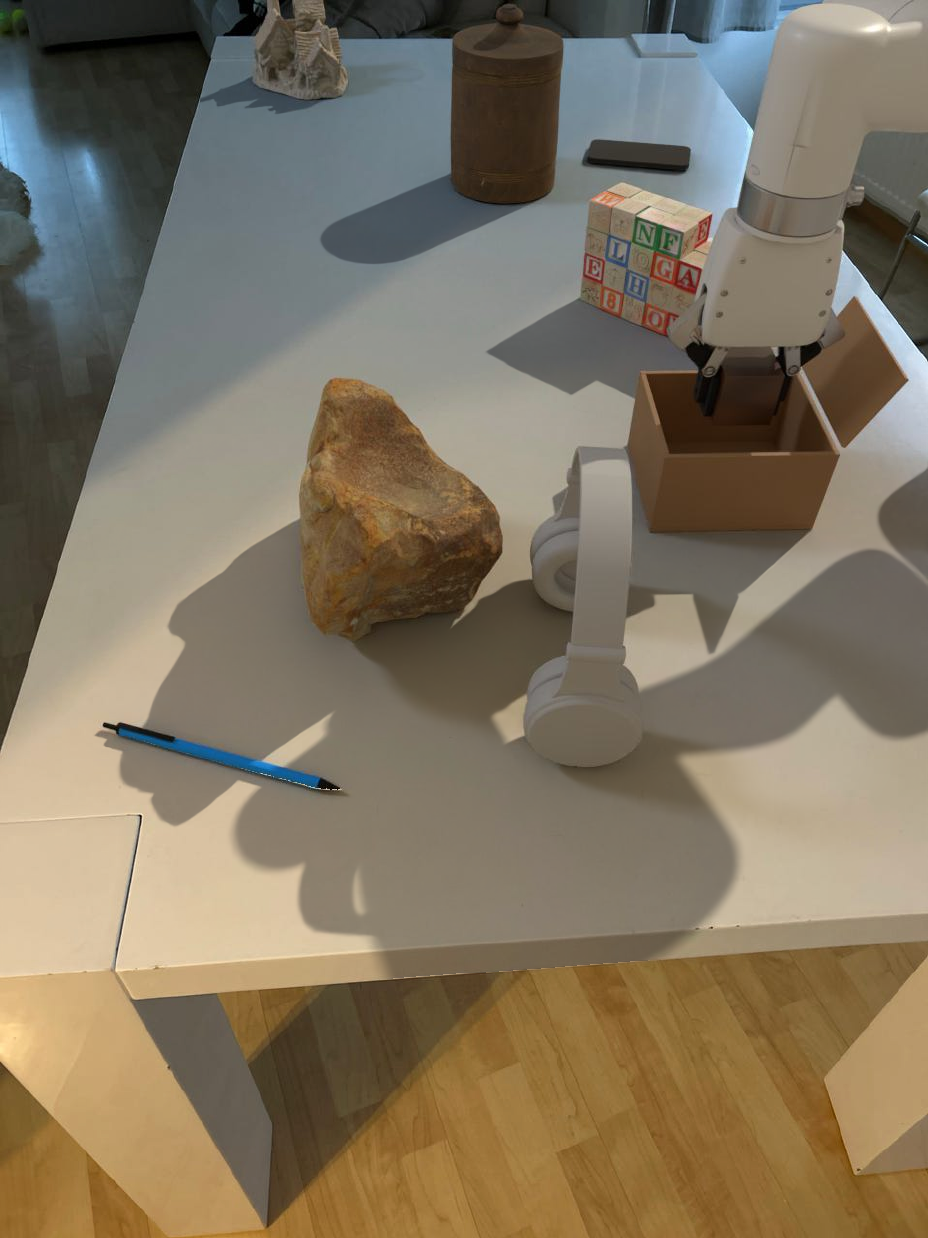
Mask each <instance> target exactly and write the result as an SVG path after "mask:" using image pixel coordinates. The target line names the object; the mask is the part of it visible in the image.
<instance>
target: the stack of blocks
mask: <svg viewBox="0 0 928 1238" xmlns="http://www.w3.org/2000/svg"><path fill="white" fill-rule="evenodd" d="M712 220H713V212H710V211H707V210H705V209H701V208H699V207H696V206H693V205H688V204H686V203H684V202H681V201H677V200H675V199H672V198H668V197H665V196H662V195H659V194H656V193H653V192H651V191H647V190H643V189H642V188H640V187H637V186H634V185H631V184H628V183H625V182H619V183H617V184H615V185H614V186H612V187H610V188H608V189H606V190H605V191H602V192H601V193H599V194H597V195H596V196H594V197H592V198H590V199H589V200H588V212H587V224H586V228H585V241H584V254H583V264H582V265H583V267H582V278H581V284H580V295H579V296H580V298H579V300H580V301H582V302H584V303H587V304H589V305H592V306H594V307H596V308H599V309H600V310H602V311H604V312H606V313H609V314H611V315H614V316H617V318H618V317H619V318H621V319H624V320H626V321H627V322H630V323H633V324H635V325H637V326H639V327H643V328H646V329H649V330H651V331H654V332H655V333H658V334H660V335H663V336H666V337H668V338H669V336H668V333H667V328H668V326H669V325H670V324H671V323H673V322H674V321H675V320H676V319H677V318H678V317H679V316H680V315H681V314H682V313H683V312H684V311H685V310H686V309H687V308H689V307H690V306H691V305H692V304H693V303H694V300H695V296H696V292H697V288H698V284H699V281H700V277H701V274H702V271H703V267H704V264H705V261H706V258H707V255H708V252H709V249H710V246H711V244H712V242H709V241H707V240H708V238H709V237H710V230H711V225H712ZM702 330H703V328H702V323H701V324H700V325H699V326H698V327H697V328H695V329H694V330H693V331H692V332H691V335H693V336H695V337H697V338H698V340H699V341H700V342H701V343H702V342H703V339H702Z"/></svg>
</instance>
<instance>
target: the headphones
mask: <svg viewBox="0 0 928 1238" xmlns="http://www.w3.org/2000/svg"><path fill="white" fill-rule="evenodd" d="M631 471H632V470H631V464H630V458H629V455H628V452H627V450H626V449H625V448H621V447H605V446H587V445H584V446H583V445H578V446H577V447H576V448H575V451H574V454H573V457H572V461H571V467H568V468H567V471H566V484H567V488H566V492H565V495H564V497H563V501H562V504H561V507H560V509H559V510H558V511H557V512H556V513H555V514H553V515H552V516H550V517H548V518H547V519H545V520H544V521H543V522H542V523H540V525H539V526H538V527H537V529H535V532H534V533H533V536H532V539H531V541H530V547H529V560H530V564H531V579H532V583H533V587H534V588H535V591H536V592H537V595H539V596H540V598H541V599H542V600H544V601H545V602H546V603H547V604H549V605H551V606H553V607H554V608H556V609H558V610H559V609H560V610H562V611H566V612H572V613H573V614H572V626H571V637H570V641H569V642H567V644H566V649H565V655H561V656H557V657H555V658H552V659H550V660H548V661H547V662H544V664H542V665H541V666H539V667H538V668H537V669H536V670H535V671H534V673H533V674H532V675H531V678H530V680H529V682H528V686H527V691H526V703H525V707H524V712H523V716H522V719H523V721H522V722H523V733H524V737H525V739H526V741H527V742H528V744H529V745H530V747H531V748H532V749H533V750H534V751H536V752H537V753H538V754H540V755H541V756H542V757H543V758H545V759H547V760H549V761H552V762H554V763H556V764H559V765H562V766H563V765H564V766H567V767H568V766H569V767H574V766H577V767H576V768H591V767H599V766H605V765H609V764H612V763H615V762H617V761H620V760H621V759H623V758H624V757H626V756H627V755H629V754H630V753H631V752H633V751H634V750H635V749H636V748H637V747H638V746H639V744H640V742H641V740H642V739H643V735H644V726H645V717H644V716H645V715H644V711H643V706H642V704H641V702H640V699H641V696H640V689H639V685H638V682H637V679H636V677H635V675H634V674H633V673H632V671H631V670H630V669H629V668H628V667H627V666H626V665H624V664H625V662H626V657H627V651H626V646H625V645H624V640H625V633H626V632H625V630H626V624H627V623H626V622H627V613H628V603H629V589H630V583H631V580H632V562H633V555H634V548H633V542H632V540H633V539H632V538H633V489H632V488H633V487H632V484H633V483H632V473H631Z"/></svg>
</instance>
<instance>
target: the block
mask: <svg viewBox="0 0 928 1238" xmlns="http://www.w3.org/2000/svg"><path fill="white" fill-rule="evenodd" d="M776 357H777V355H775V352H774V350H773V347H731V348H730V350H729V352H728V353H727V355H726V357H725V359H724V360H723V362H722V364H721V366H720V367H719V370H718V373H719V376H720V385H719V389H718V393H717V397H716V401H715V406H714V410H713V414H712V415H711V416H710V417H711V420H712V423H713V426H746V425H770V423H771V420H772V417H773V414H774V410H775V407H776V404H777V400H778V397H779V394H780V390H781V387H782V384H783V380H784V377H785V375H784V373H783V371H782V369H781V367H780V365H779V363H778V360H777V358H776Z"/></svg>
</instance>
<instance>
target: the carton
mask: <svg viewBox="0 0 928 1238" xmlns="http://www.w3.org/2000/svg"><path fill="white" fill-rule="evenodd" d="M697 373H698V369H695V370H693V369H691V370H689V369H687V370H685V369H684V370H640V371H639V373H638V380H637V385H636V392H635V398H634V403H633V410H632V416H631V421H630V429H629V432H628V433H629V434H628V439H627V448H628V451H629V452H628V453H629V456H630V459H631V464H632V468H633V472H634V476H635V480H636V484H637V488H638V491H639V495H640V500H641V503H642V508H643V512H644V515H645V519H646V523H647V528H648V531H649V533H669V532H670V533H673V532H675V533H676V532H679V533H680V532H721V531H724V532H725V531H726V532H727V531H729V532H730V531H773V530H774V531H775V530H778V531H779V530H813V528H814V525H815V523H816V520H817V517H818V514H819V512H820V509H821V507H822V504H823V502H824V499H825V496H826V493H827V491H828V488H829V485H830V483H831V480H832V478H833V475H834V473H835V471H836V467H837V465H838V461H839V459H840V457H841V453H840V451H839V449H838V446H836V443H835V441H834V438H833V437H832V435H831V433H830V431H829V428H828V427H827V425H826V423H825V421H824V419H823V417H822V415H821V413H820V410H819V409H818V406H817V404H816V403H815V401H814V398H813V396H812V394H811V392H810V390H809V388H808V386H807V384H806V382H805V380H804V378H803V376H802V374H801V371H800V372H799V373H798V374H797V375H795V376H792V379H791V382H790V385H789V388H788V392H787V395H786V398H785V400H784V401H783V402H780V405H779V409H778V412H777V415H776V416H773V417H772V420H771V423H770V425H746V426H713V423H712V420H711V417H704V416H703V413H702V410H701V408H700V405H699V403H695V400H694V396H693V392H694V387H695V382H696V378H697Z"/></svg>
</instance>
